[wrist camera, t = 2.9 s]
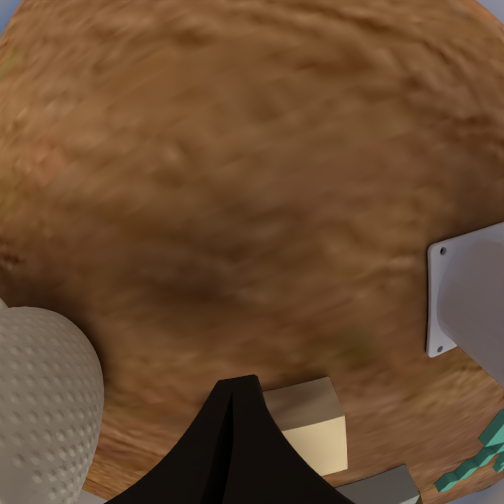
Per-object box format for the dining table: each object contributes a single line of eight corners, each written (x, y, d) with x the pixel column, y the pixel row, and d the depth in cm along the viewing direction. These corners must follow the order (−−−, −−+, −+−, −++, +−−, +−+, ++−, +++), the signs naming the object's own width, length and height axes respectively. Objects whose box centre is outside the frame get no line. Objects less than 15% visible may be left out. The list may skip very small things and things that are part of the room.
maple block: (328, 374, 17) (344, 415, 13) (334, 430, 18) (347, 468, 14) (206, 398, 17) (199, 442, 13) (231, 450, 19) (230, 490, 15)
